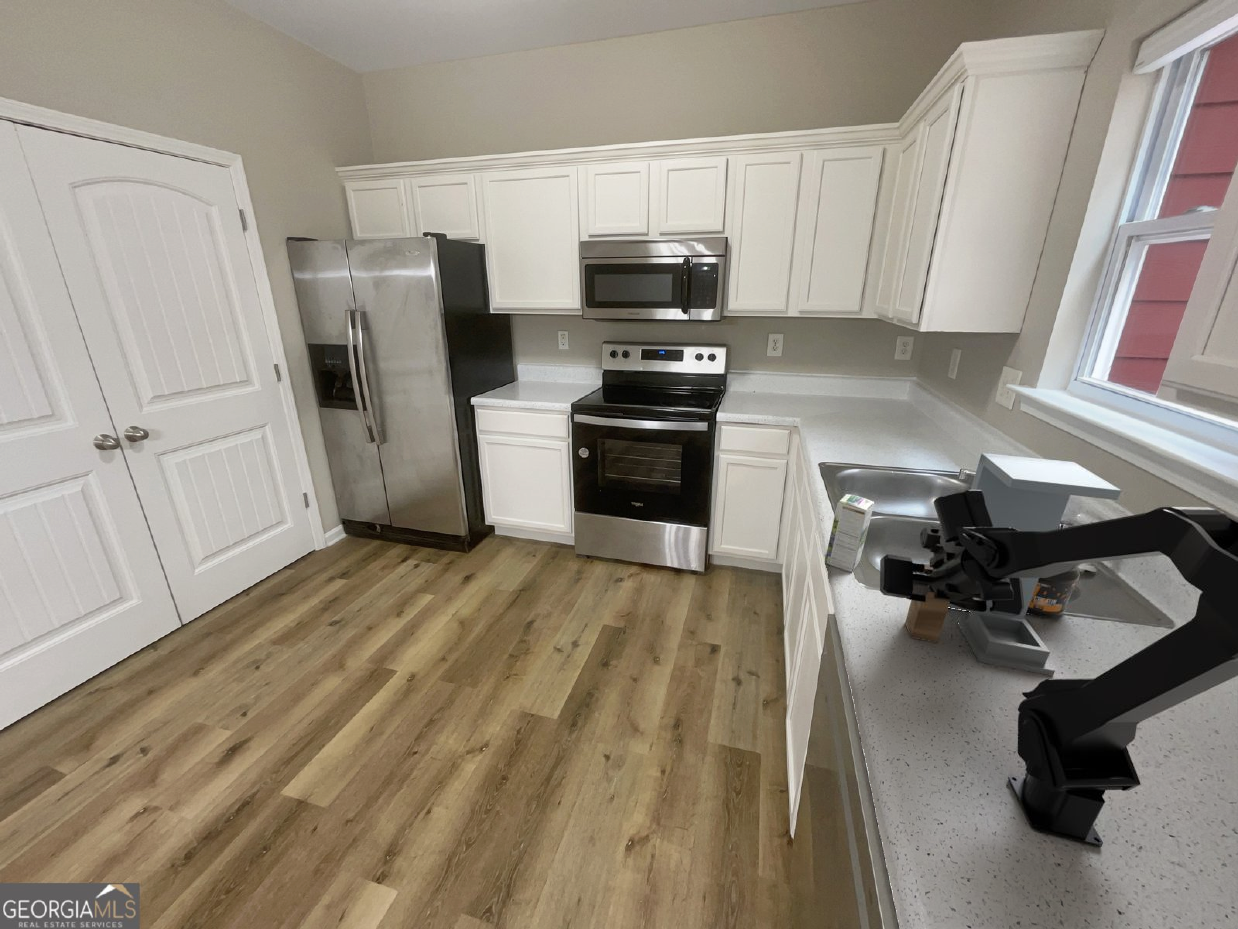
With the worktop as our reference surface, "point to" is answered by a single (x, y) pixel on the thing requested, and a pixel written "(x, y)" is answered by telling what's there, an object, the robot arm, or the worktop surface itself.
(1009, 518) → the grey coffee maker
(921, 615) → the peg
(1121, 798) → the worktop surface
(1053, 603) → the supplement container
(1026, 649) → the socket
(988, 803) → the worktop surface
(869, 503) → the syrup box
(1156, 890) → the worktop surface
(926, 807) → the worktop surface
